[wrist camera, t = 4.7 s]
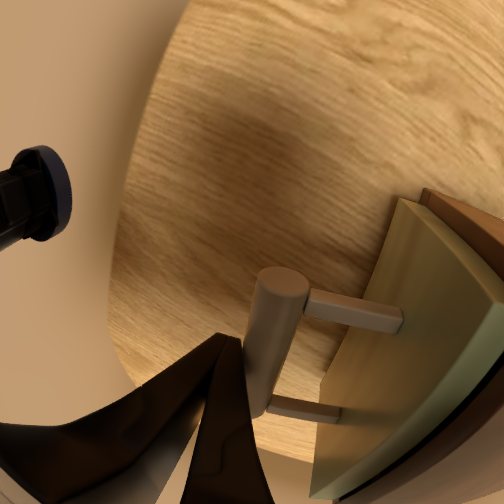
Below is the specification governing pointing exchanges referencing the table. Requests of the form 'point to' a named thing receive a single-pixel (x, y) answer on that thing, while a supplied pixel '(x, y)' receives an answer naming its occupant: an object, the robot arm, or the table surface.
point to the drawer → (383, 350)
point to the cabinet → (469, 420)
